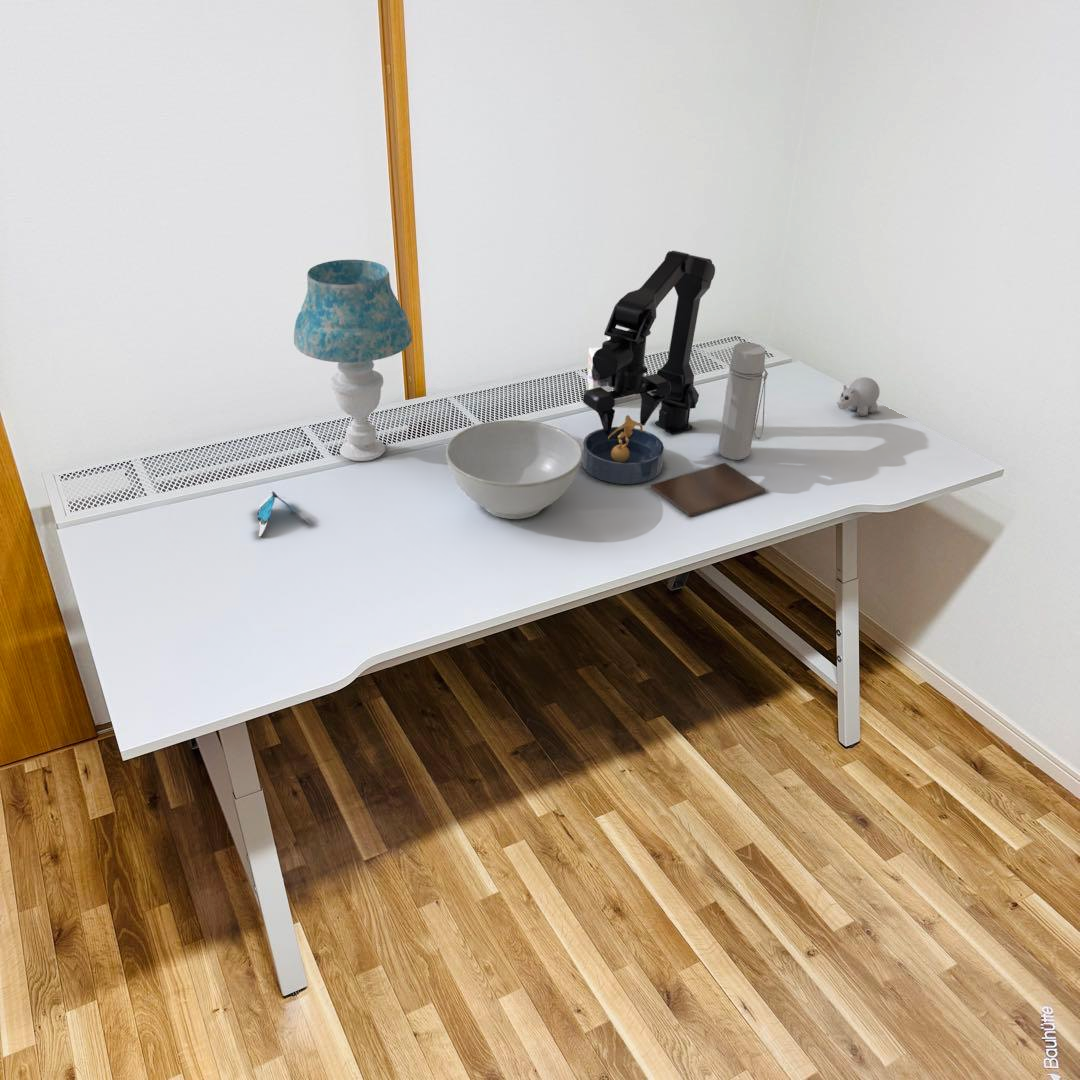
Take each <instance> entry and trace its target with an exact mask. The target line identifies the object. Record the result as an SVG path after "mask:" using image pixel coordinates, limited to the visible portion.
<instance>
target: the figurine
mask: <svg viewBox="0 0 1080 1080" xmlns="http://www.w3.org/2000/svg"><path fill="white" fill-rule="evenodd" d="M624 419H625V420H624V423H622V424H621V425H619V426H617V427H618V428H617V429H616V430H615V431H614V432H612V433H611V434H610V435H609V437H610V436H612V435H613V434H614V433H616V432H617V431H618V430H620V429H622V428H624V433H623V432H621V434H620V435H618V439H619V443H620V445H617V446H615V447H614V448H613V449H612V451H611V457H612V459H613V460H614V461H615V462H619V463H623V462H625V461H627V460H628V458H629V450H628V448H627V447H626V446H627V445H628V442H629V439H628V437H629V436H631V435H632V430H633V428H636V426H639V428H638V429H639V430H640V431H643V430H644V429H643V425H642V424H641V423H640V422H637V421H635V420H633V419H632V418H631V416H630V415H628V414H627V415H625V418H624ZM624 436H625V438H626V444H625V445H622V440H621V438H623V437H624ZM609 437H608V439H609Z"/></svg>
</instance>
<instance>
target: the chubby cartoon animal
mask: <svg viewBox="0 0 1080 1080" xmlns="http://www.w3.org/2000/svg"><path fill="white" fill-rule="evenodd" d="M880 393H881V392H880V387H879V385H878V383H877V381H875V380H874V379H873V378H871V377H866V376H864V377H863V376H862V377H858V378H856V379H855V380H854V381H852V382H851V383H850V385H849V387H848V386H847V385H846V384H844V385H843V390H842V392H841V393H840V396H839V397H838V400H837V402H836V404H837V407H838V409H839V410H849V411H856V414H857V415H858V416H863V417H864V416H867V415H868V414H869V413H870V414H874V413H876V412H877V410H878V404H877V403H878V402H877V401H878V400H879V397H880Z"/></svg>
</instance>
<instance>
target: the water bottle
mask: <svg viewBox="0 0 1080 1080" xmlns="http://www.w3.org/2000/svg"><path fill="white" fill-rule="evenodd" d="M765 362H766V348H765V347H764V346H762V345H761V344H758V343H756V342H755V343H754V342H746V341H745V342H739V343H737V344H735V345H733V350H732V354H731V358H730V363H729V365H728V367H729V370H728V375H727V383H726V390H725V397H724V404H723V410H722V411H723V412H722V419H721V423H720V424H721V426H720V433H719V439H718V440H719V441H718V447H717V450H718V451H717V452H718V454H719V455H721V456H722V457H723V458H725V459H728V460H733V461H740V460H745V459H746V458H747V457H748V456H749V455H751V449H752V443H753V436H754V438H755V439H756V440H760V439H761V438H762V435H763V432H764V428H765V404H766V381H767V377H768V375H769V373H768V371H767V370H766V368H765ZM763 374H764V375H763ZM762 381H763V384H762ZM761 387H762V389H761ZM760 394H761V395H760ZM762 399H763V408H762V423H761V424H762V427H761V433H760V436H757V434H756V430H757V425H758V419H759V414H760V409H761V403H762Z"/></svg>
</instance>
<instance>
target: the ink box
mask: <svg viewBox="0 0 1080 1080" xmlns="http://www.w3.org/2000/svg"><path fill="white" fill-rule="evenodd" d="M610 339H611V338H610V336H607V341H608V340H610ZM600 348H601V347H588V359H587V379H586V391H587V390H590V389H594V388H599V387H601V388H603V389H604V390H606V391H607V392H610V391H613V390H612V389H613V387H610V386H608V382H602V383H600V382H599V380H593V378H592V366H593V361H592V359H593V356H594V354H595V352H596V351H597V350H599V349H600Z"/></svg>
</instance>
